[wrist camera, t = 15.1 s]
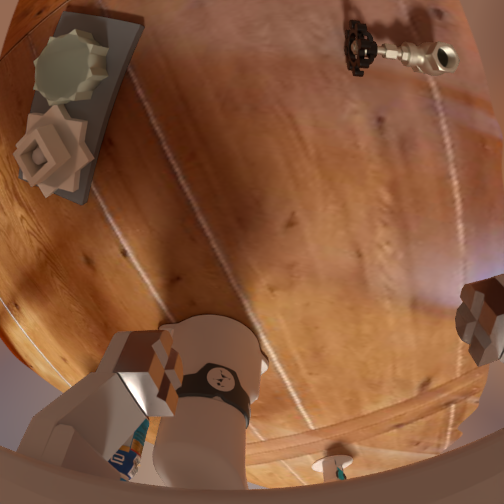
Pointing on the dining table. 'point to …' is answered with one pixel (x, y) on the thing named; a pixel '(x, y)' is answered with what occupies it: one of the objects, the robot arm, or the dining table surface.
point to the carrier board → (103, 94)
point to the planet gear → (54, 150)
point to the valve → (398, 53)
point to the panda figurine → (332, 467)
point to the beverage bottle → (130, 453)
